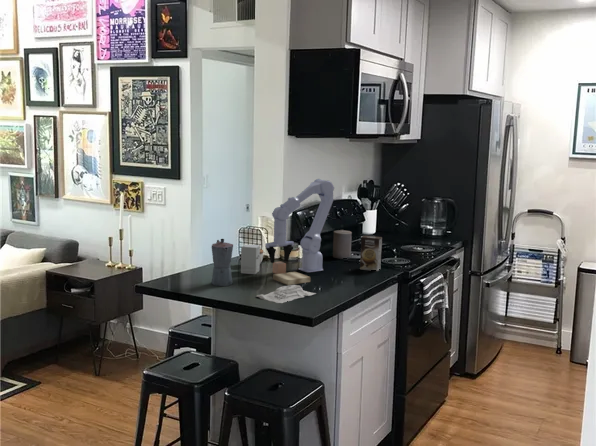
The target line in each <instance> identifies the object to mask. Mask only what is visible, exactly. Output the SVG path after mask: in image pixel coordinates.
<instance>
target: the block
mask: <svg viewBox="0 0 596 446" xmlns="http://www.w3.org/2000/svg"><path fill="white" fill-rule="evenodd" d="M281 273H287V263H286V262H285V261H274V263H272V274H281Z"/></svg>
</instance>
